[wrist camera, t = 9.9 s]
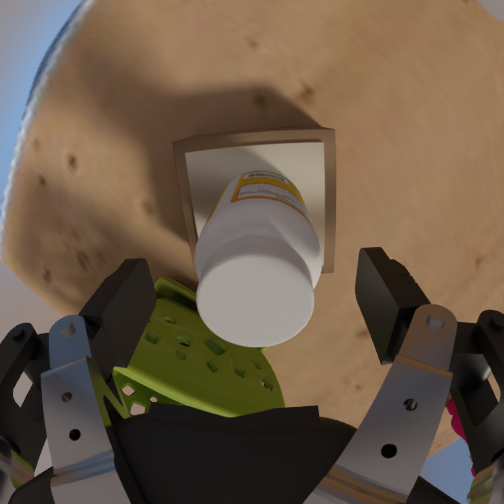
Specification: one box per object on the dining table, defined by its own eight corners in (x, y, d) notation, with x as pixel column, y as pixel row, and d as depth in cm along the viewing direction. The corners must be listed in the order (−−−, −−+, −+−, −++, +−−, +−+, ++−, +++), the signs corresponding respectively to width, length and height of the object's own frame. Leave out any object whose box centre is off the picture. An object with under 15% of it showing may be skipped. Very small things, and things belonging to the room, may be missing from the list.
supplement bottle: (250, 262, 20) (237, 376, 11) (202, 199, 18) (143, 285, 9) (319, 221, 18) (359, 323, 9) (273, 151, 16) (280, 196, 8)
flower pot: (288, 322, 28) (297, 437, 16) (218, 387, 33) (205, 477, 22) (160, 249, 24) (95, 353, 13) (117, 336, 30) (74, 422, 19)
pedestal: (188, 137, 20) (171, 142, 16) (322, 126, 19) (335, 129, 15) (205, 255, 24) (195, 282, 21) (323, 248, 24) (334, 274, 20)
